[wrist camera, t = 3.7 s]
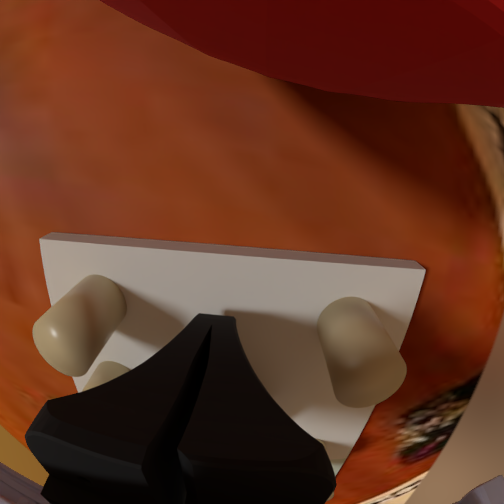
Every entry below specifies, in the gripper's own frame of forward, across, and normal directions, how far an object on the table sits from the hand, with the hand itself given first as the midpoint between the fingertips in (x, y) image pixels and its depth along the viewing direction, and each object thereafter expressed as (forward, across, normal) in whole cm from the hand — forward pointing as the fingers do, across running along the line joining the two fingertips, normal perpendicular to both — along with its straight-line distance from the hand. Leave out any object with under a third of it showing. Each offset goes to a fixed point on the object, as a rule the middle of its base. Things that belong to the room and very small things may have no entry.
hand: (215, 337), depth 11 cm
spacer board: (+2, 0, +7) cm, 7 cm away
